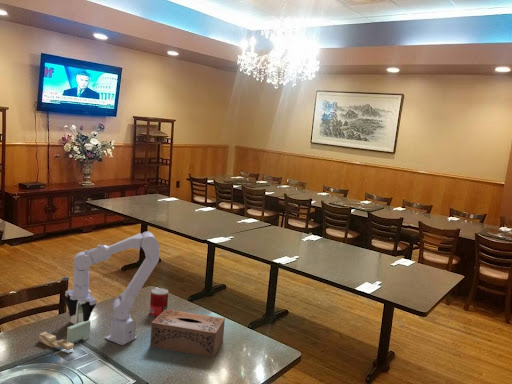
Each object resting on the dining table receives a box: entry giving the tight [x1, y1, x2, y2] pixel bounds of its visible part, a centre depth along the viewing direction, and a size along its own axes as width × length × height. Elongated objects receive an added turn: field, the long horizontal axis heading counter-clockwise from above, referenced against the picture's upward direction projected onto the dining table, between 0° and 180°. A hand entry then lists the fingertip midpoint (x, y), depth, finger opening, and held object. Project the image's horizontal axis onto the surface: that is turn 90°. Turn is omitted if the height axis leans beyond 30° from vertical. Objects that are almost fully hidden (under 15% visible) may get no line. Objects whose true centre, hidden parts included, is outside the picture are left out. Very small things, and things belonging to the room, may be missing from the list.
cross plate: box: [66, 319, 91, 343], centre depth 163 cm, size 9×2×7 cm, turn 152°
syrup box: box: [69, 289, 92, 325], centre depth 178 cm, size 6×6×14 cm
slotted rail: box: [38, 331, 75, 350], centre depth 157 cm, size 16×2×3 cm, turn 62°
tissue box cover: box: [149, 308, 226, 358], centre depth 169 cm, size 26×14×10 cm, turn 80°
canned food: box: [149, 287, 169, 318], centre depth 195 cm, size 8×8×11 cm
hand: (79, 318), depth 162 cm, fingers open, 7 cm apart
